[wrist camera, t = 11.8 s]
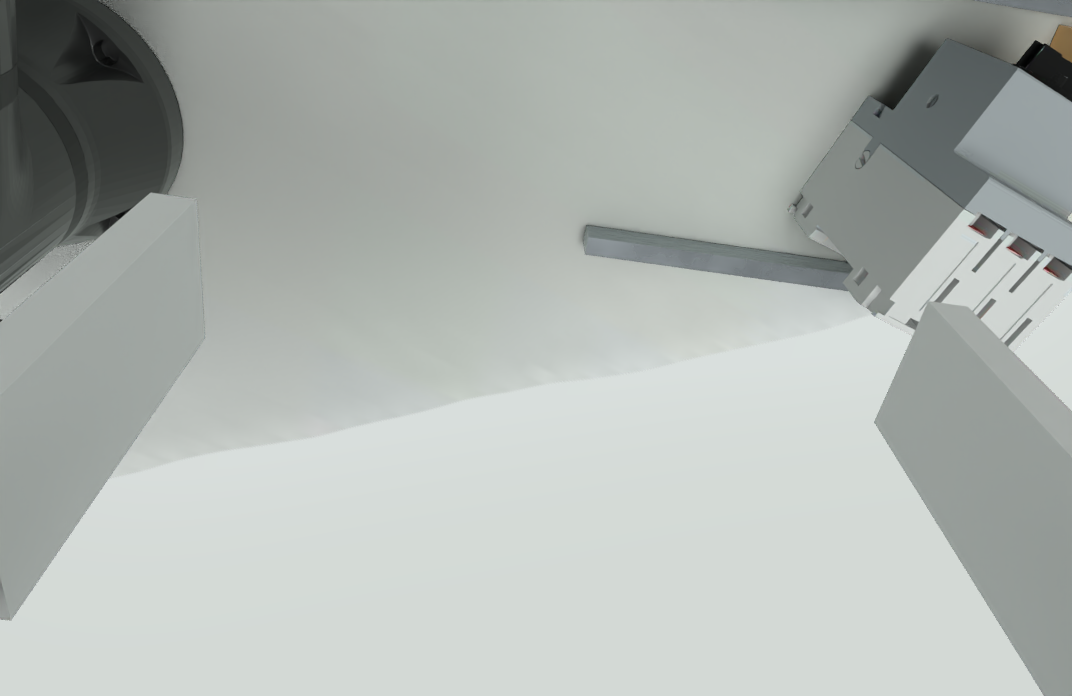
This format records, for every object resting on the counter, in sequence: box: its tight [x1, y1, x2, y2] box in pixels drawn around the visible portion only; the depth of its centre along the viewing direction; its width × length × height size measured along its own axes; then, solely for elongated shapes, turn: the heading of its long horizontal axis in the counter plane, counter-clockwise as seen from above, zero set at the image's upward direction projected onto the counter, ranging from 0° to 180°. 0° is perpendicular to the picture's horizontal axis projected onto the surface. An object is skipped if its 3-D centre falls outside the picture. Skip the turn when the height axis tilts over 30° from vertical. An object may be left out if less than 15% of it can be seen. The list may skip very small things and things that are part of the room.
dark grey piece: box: [583, 0, 1072, 291], centre depth 42 cm, size 25×21×18 cm
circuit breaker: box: [787, 38, 1072, 352], centre depth 44 cm, size 8×14×15 cm, turn 152°
